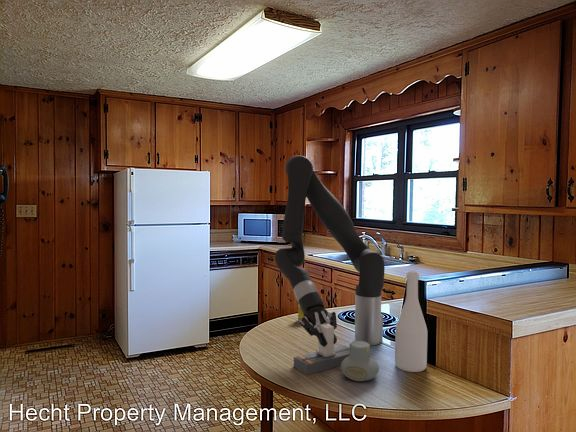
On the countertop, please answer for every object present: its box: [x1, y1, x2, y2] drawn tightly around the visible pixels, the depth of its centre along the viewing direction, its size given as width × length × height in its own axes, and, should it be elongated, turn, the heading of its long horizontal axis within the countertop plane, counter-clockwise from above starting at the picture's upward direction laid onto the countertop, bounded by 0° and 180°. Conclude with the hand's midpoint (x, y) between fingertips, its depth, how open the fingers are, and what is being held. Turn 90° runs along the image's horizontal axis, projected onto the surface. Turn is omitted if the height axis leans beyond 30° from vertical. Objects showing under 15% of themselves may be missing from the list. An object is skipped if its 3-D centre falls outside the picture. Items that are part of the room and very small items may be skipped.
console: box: [293, 344, 350, 376], centre depth 137 cm, size 20×7×3 cm, turn 122°
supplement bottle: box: [297, 303, 310, 323], centre depth 181 cm, size 5×5×10 cm
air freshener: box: [340, 340, 380, 383], centre depth 127 cm, size 11×8×10 cm
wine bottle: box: [394, 270, 428, 373], centre depth 134 cm, size 10×10×30 cm
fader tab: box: [315, 323, 336, 358], centre depth 137 cm, size 4×5×9 cm
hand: (330, 344), depth 135 cm, fingers closed on fader tab, 3 cm apart
